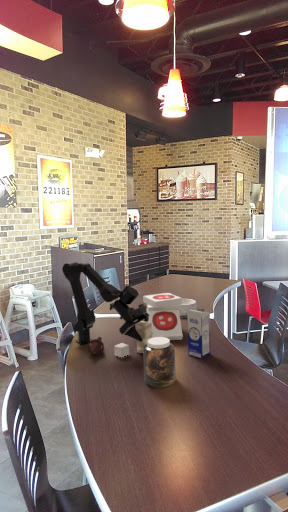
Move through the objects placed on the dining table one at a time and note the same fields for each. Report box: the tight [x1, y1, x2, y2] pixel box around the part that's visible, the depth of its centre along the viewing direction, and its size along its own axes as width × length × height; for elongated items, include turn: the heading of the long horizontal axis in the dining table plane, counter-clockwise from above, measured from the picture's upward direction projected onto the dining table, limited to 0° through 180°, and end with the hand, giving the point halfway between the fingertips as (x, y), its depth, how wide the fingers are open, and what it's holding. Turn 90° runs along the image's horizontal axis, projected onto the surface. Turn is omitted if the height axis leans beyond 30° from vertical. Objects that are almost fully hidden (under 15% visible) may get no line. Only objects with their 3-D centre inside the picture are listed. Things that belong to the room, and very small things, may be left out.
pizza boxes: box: [142, 292, 184, 341], centre depth 186 cm, size 19×30×18 cm, turn 3°
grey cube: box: [114, 342, 130, 359], centre depth 161 cm, size 4×4×4 cm
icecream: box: [87, 336, 105, 356], centre depth 164 cm, size 7×7×15 cm
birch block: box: [135, 321, 152, 354], centre depth 164 cm, size 5×5×13 cm
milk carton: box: [186, 308, 211, 359], centre depth 158 cm, size 7×7×20 cm
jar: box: [142, 337, 177, 389], centre depth 135 cm, size 12×12×15 cm
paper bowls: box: [178, 298, 197, 317], centre depth 223 cm, size 15×15×8 cm
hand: (147, 337), depth 163 cm, fingers open, 9 cm apart
